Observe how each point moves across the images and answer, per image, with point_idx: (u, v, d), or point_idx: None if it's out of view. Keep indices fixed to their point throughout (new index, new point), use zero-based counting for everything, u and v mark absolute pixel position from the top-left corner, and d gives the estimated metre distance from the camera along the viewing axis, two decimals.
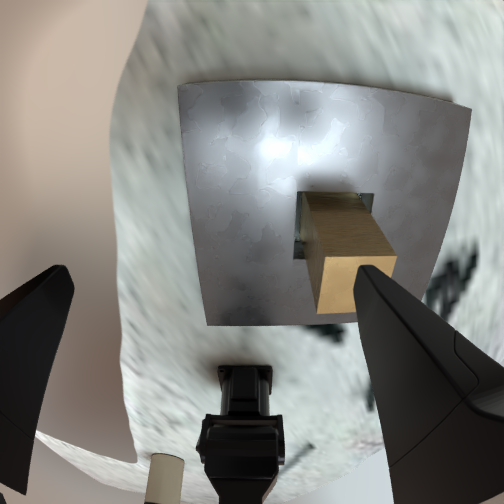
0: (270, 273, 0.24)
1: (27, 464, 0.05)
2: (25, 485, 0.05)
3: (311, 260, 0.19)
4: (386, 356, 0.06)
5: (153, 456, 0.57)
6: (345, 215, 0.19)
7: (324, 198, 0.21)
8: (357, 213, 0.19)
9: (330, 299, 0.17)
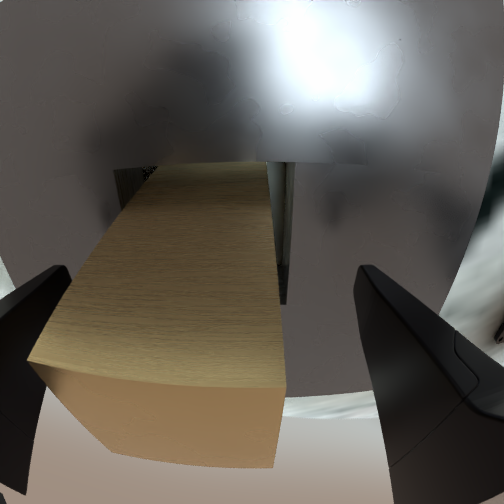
0: (315, 332, 0.13)
1: (27, 464, 0.05)
2: (25, 485, 0.05)
3: None
4: (386, 356, 0.06)
5: None
6: None
7: None
8: None
9: (222, 460, 0.06)
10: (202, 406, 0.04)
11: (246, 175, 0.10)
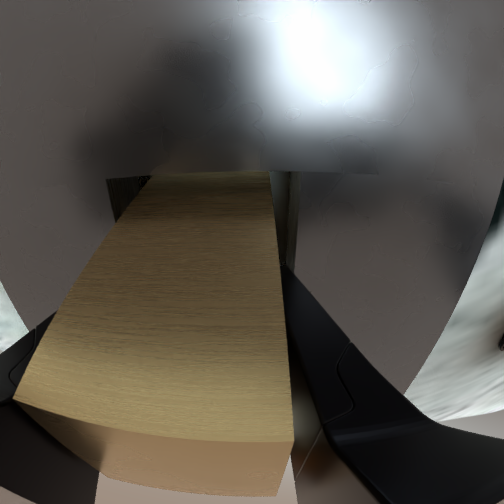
0: None
1: (93, 489, 0.05)
2: None
3: None
4: None
5: None
6: None
7: None
8: None
9: (223, 491, 0.05)
10: (201, 454, 0.03)
11: (248, 184, 0.09)
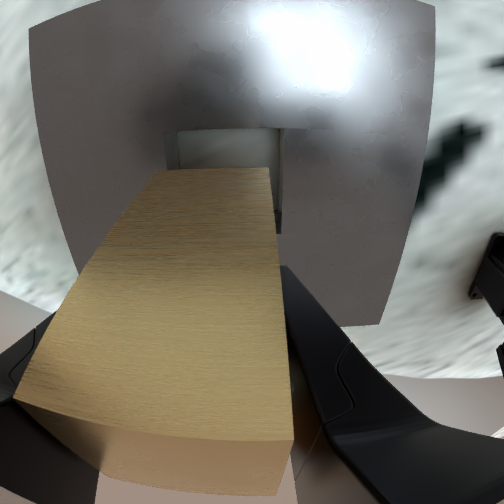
0: (304, 260, 0.17)
1: (93, 490, 0.05)
2: None
3: None
4: None
5: None
6: None
7: None
8: None
9: (223, 490, 0.05)
10: (201, 452, 0.03)
11: (248, 183, 0.09)
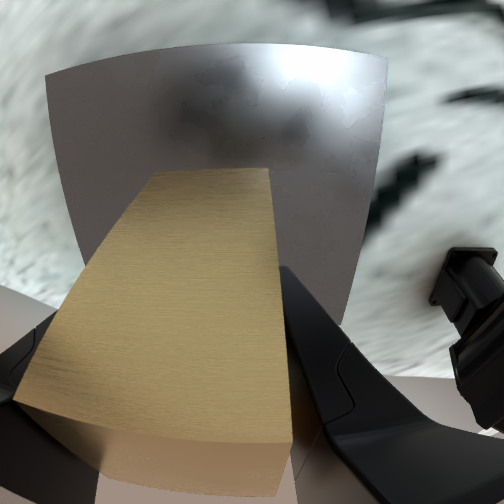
0: None
1: (93, 489, 0.05)
2: None
3: None
4: None
5: None
6: None
7: None
8: None
9: (222, 491, 0.05)
10: (200, 454, 0.03)
11: (247, 184, 0.09)
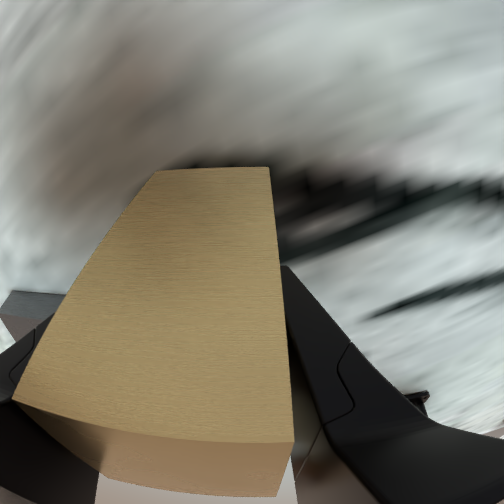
0: None
1: (93, 489, 0.05)
2: None
3: None
4: None
5: None
6: None
7: None
8: None
9: (222, 491, 0.05)
10: (201, 454, 0.03)
11: (248, 184, 0.09)
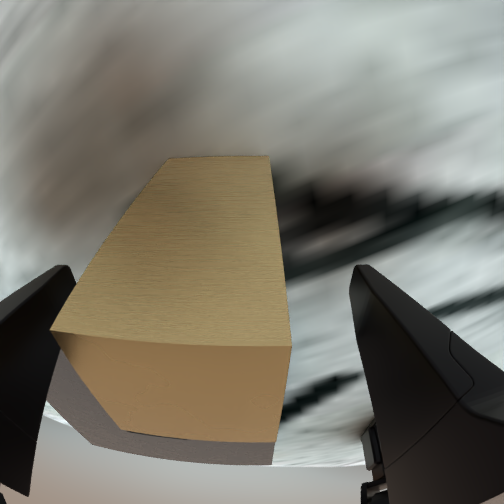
0: (205, 447, 0.23)
1: (30, 466, 0.05)
2: (28, 486, 0.05)
3: None
4: (381, 357, 0.06)
5: None
6: None
7: None
8: None
9: (228, 433, 0.06)
10: (215, 367, 0.05)
11: (251, 168, 0.10)
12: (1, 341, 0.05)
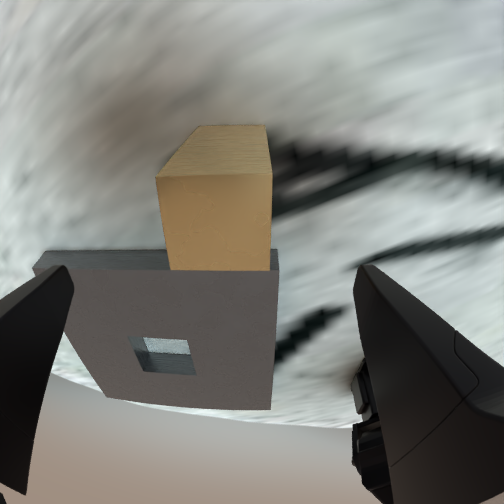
0: (212, 385, 0.29)
1: (27, 464, 0.05)
2: (25, 485, 0.05)
3: None
4: (386, 356, 0.06)
5: None
6: None
7: None
8: None
9: (240, 257, 0.12)
10: (238, 190, 0.10)
11: (253, 129, 0.16)
12: None
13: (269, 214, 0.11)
